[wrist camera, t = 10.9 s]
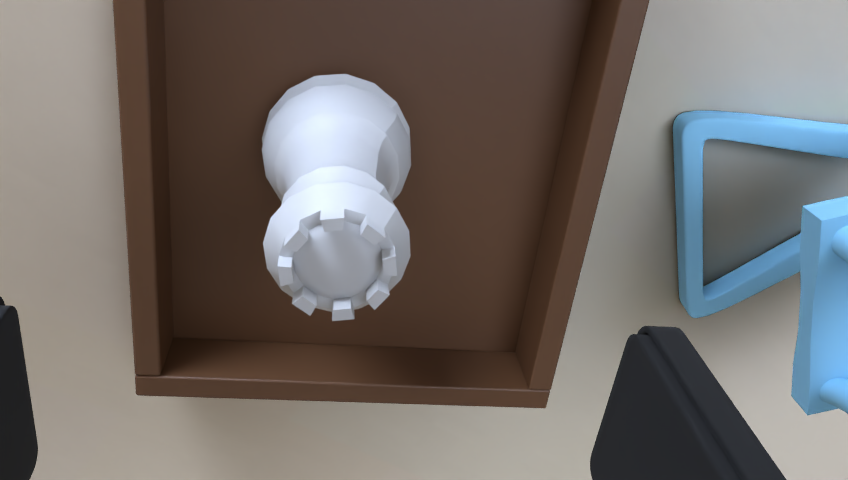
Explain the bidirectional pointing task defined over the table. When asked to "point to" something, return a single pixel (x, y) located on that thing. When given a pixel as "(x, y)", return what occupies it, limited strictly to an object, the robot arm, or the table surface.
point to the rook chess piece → (336, 194)
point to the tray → (417, 203)
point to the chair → (806, 253)
